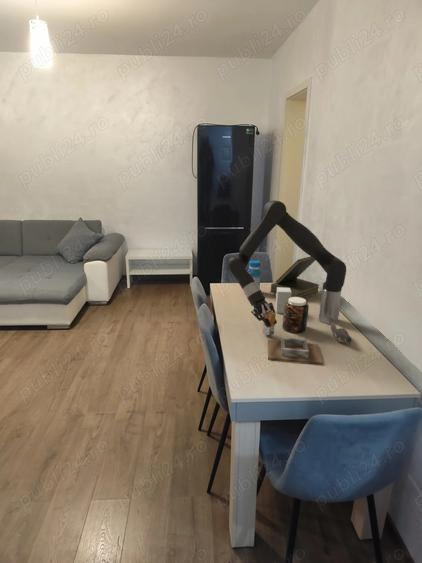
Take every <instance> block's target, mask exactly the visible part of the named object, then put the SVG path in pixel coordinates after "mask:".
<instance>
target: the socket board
mask: <svg viewBox="0 0 422 563" xmlns="http://www.w3.org/2000/svg"><path fill="white" fill-rule="evenodd" d="M319 347H320V346H319V344H318V343H310V342H307V339H303V338H294V337H293V338H292V337H281V338H280V340H276V339H275V340H274V339H267V360H270V361H280V362H290V363H301V364H313V365H320V366H321V365H324V361H323V358H322V355H321V351H320V350H321V349H320V348H319Z"/></svg>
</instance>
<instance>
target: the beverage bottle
mask: <svg viewBox="0 0 422 563" xmlns="http://www.w3.org/2000/svg"><path fill="white" fill-rule="evenodd" d="M248 266H249V267H248V269H247V272H248V273H250V274H251V276H252V277H253V279H254V281H255V282H256V284H257V285H258V286H259V288H260V287H261V276H262V275H261V273H262V272H261V269H260V267H261V261H259V260H256V259H253V260H251V259H250V261H249V263H248ZM260 289H261V288H260Z"/></svg>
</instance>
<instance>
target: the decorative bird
mask: <svg viewBox="0 0 422 563" xmlns="http://www.w3.org/2000/svg"><path fill="white" fill-rule="evenodd" d="M326 318H327V319H328V321H329V324H328V325H329V326H330V330H331V333H332V335H333V337H334V339H335V340H336V341H337V342H339V343H344V344H349V346H352V343H351V342H352V341H353V340H352V337H351V336H350V334H349V333H348V330H347V329H345V328H344V327H343V326H341V325H340V324H338V323H335V322H334V320H333V319H332V318H330V317H326Z"/></svg>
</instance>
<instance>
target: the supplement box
mask: <svg viewBox="0 0 422 563" xmlns="http://www.w3.org/2000/svg"><path fill="white" fill-rule="evenodd" d="M291 293H292V292H291V290H290V288H281V287H277V293H276V294H275V295H276V296H275V307H274V310H275V313H276V314H284V306H285V303H286V302H287V301H288V300H289V298H291Z"/></svg>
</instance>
